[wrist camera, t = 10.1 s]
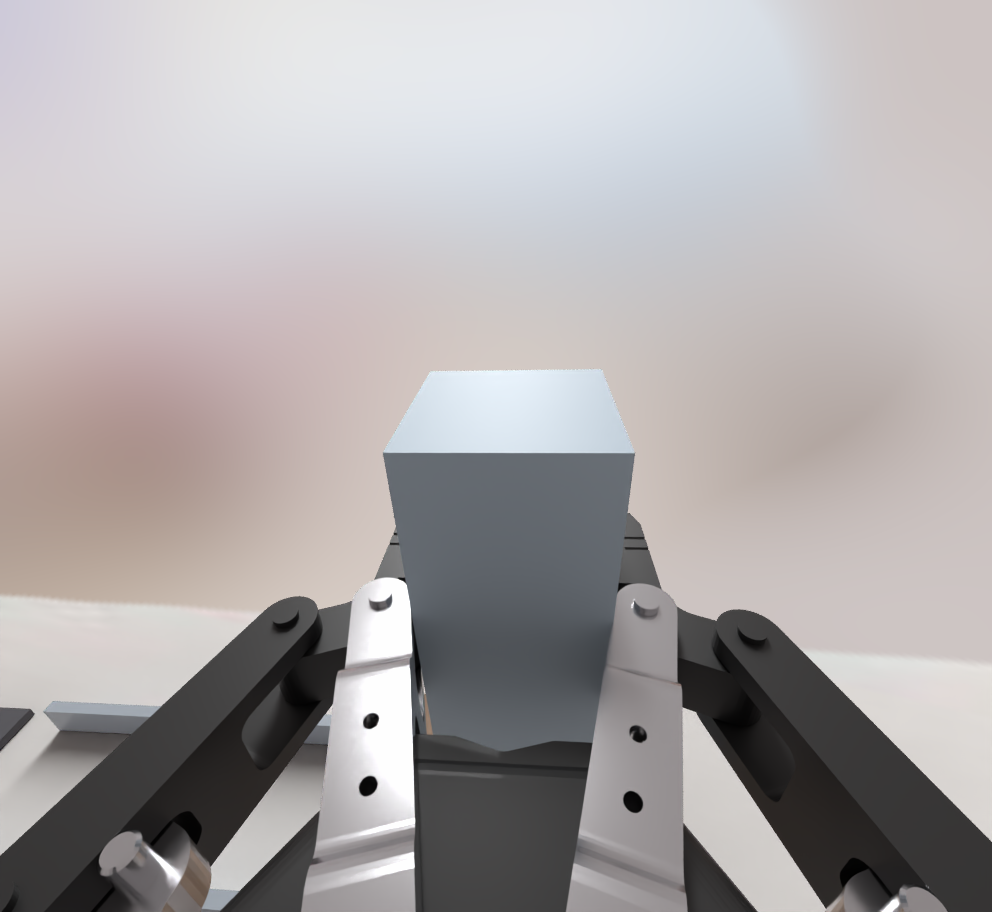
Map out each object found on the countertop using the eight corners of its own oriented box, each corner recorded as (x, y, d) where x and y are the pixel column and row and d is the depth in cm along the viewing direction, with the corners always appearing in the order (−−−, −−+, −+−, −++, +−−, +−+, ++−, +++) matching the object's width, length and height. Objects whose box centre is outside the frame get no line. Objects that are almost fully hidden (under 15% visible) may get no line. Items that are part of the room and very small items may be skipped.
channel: (-89, 899, 17) (-118, 882, 16) (68, 719, 23) (52, 701, 22) (337, 935, 16) (328, 919, 15) (389, 736, 21) (384, 717, 21)
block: (447, 816, 13) (383, 452, 7) (465, 688, 17) (430, 371, 11) (588, 825, 13) (634, 453, 7) (576, 693, 16) (601, 369, 11)
